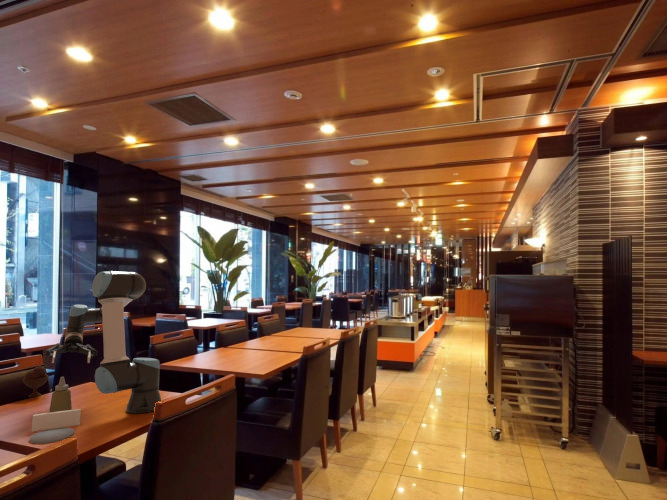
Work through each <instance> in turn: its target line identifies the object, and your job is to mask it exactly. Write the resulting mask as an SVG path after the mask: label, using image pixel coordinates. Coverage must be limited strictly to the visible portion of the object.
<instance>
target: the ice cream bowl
mask: <svg viewBox="0 0 667 500" xmlns="http://www.w3.org/2000/svg"><path fill="white" fill-rule="evenodd" d="M49 377H50V376H49V375H48V374H47V371H46V368H45V367H44V366H41V365H40V366H36V367H34V368H33V369H31V370H29V371H27V372H26V374H25V375H24V377H23V378H22V383H23V384H24V385H25V386H26V387H28V388H30V389H32V393H31V394H29V395H28V398H36V397H37V396H38V397H41V396H42V394H41V393H40V392H38V389H39V388H40V387H42V386H43V385H45V384H46V383H47V382H48V380H49ZM38 397H37V398H38Z"/></svg>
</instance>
